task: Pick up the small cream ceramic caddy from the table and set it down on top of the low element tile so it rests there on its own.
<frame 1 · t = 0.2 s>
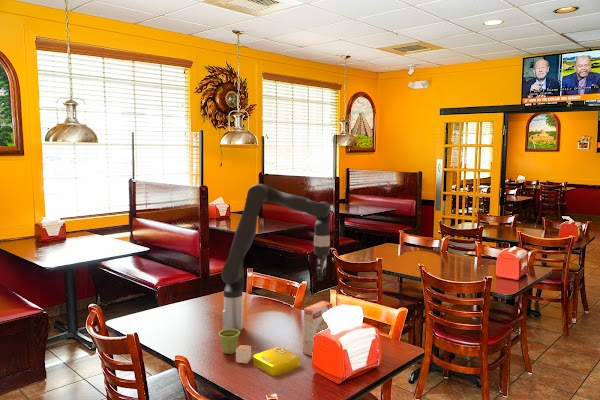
hand: (321, 277, 230), 29 cm above the table, fingers open, 8 cm apart
element tile: (276, 366, 203), on the table
plant pot: (229, 351, 216), on the table
caddy: (243, 360, 208), on the table
cracker box: (317, 351, 218), on the table
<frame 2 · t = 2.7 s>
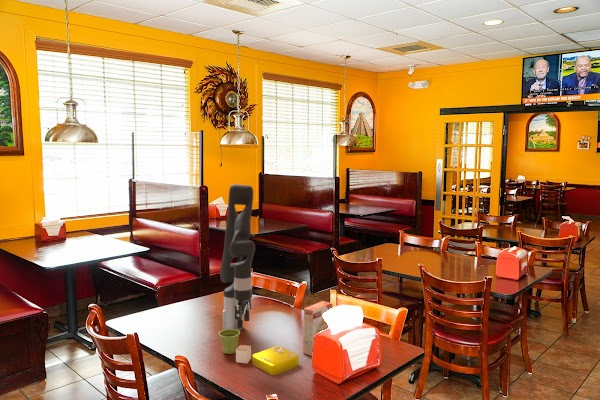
hand: (243, 324, 206), 16 cm above the table, fingers open, 8 cm apart
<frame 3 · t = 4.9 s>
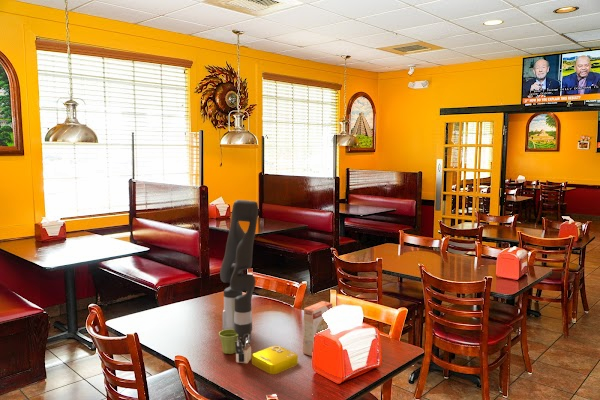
hand: (243, 358, 208), 1 cm above the table, fingers closed on caddy, 5 cm apart
caddy: (243, 360, 208), on the table, touching gripper
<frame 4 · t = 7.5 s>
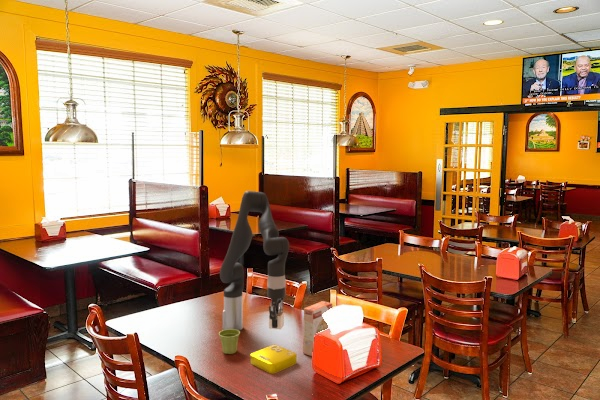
hand: (276, 325, 201), 17 cm above the table, fingers closed on caddy, 5 cm apart
caddy: (276, 326, 201), point 17 cm above the table, touching gripper
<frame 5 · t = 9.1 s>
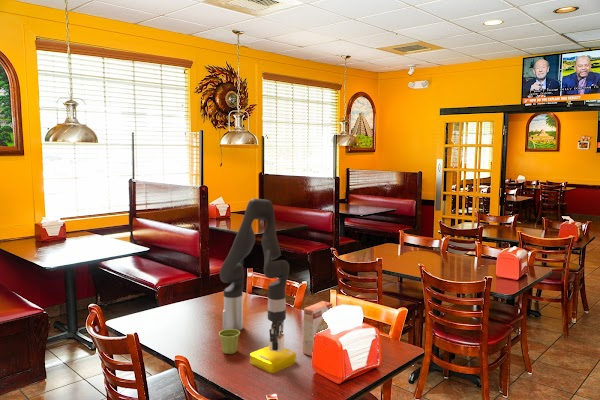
hand: (276, 347, 202), 8 cm above the table, fingers closed on caddy, 5 cm apart
caddy: (277, 348, 203), point 7 cm above the table, touching gripper
when the fingers open (6 cm above the table, at t = 10.3 s): caddy drops 1 cm, resting on element tile.
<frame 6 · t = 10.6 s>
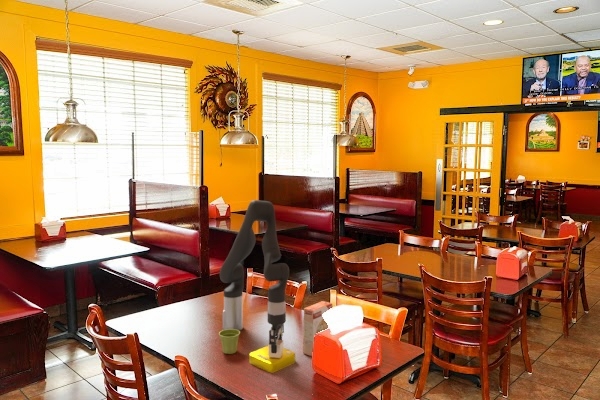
hand: (276, 348, 203), 7 cm above the table, fingers open, 8 cm apart
element tile: (272, 363, 206), on the table, touching caddy
caddy: (276, 354, 203), point 4 cm above the table, touching element tile
everything else where it was.
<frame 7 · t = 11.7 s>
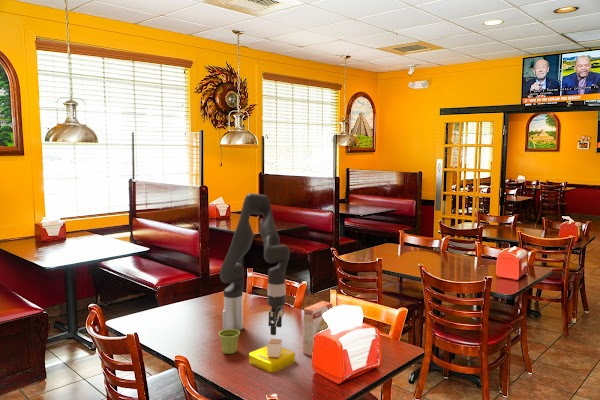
hand: (276, 330, 202), 15 cm above the table, fingers open, 8 cm apart
nothing on the table moved.
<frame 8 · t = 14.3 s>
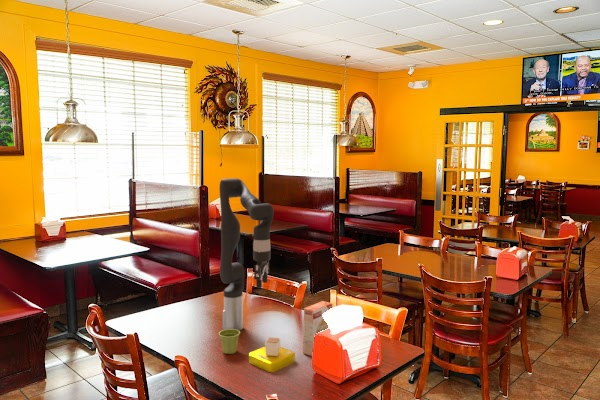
hand: (262, 285, 214), 30 cm above the table, fingers open, 8 cm apart
caddy: (273, 353, 205), point 4 cm above the table, touching element tile
everything else where it was.
at the end: caddy 1.3 cm from the element tile (horizontally); caddy touching element tile; the gripper is holding nothing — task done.
